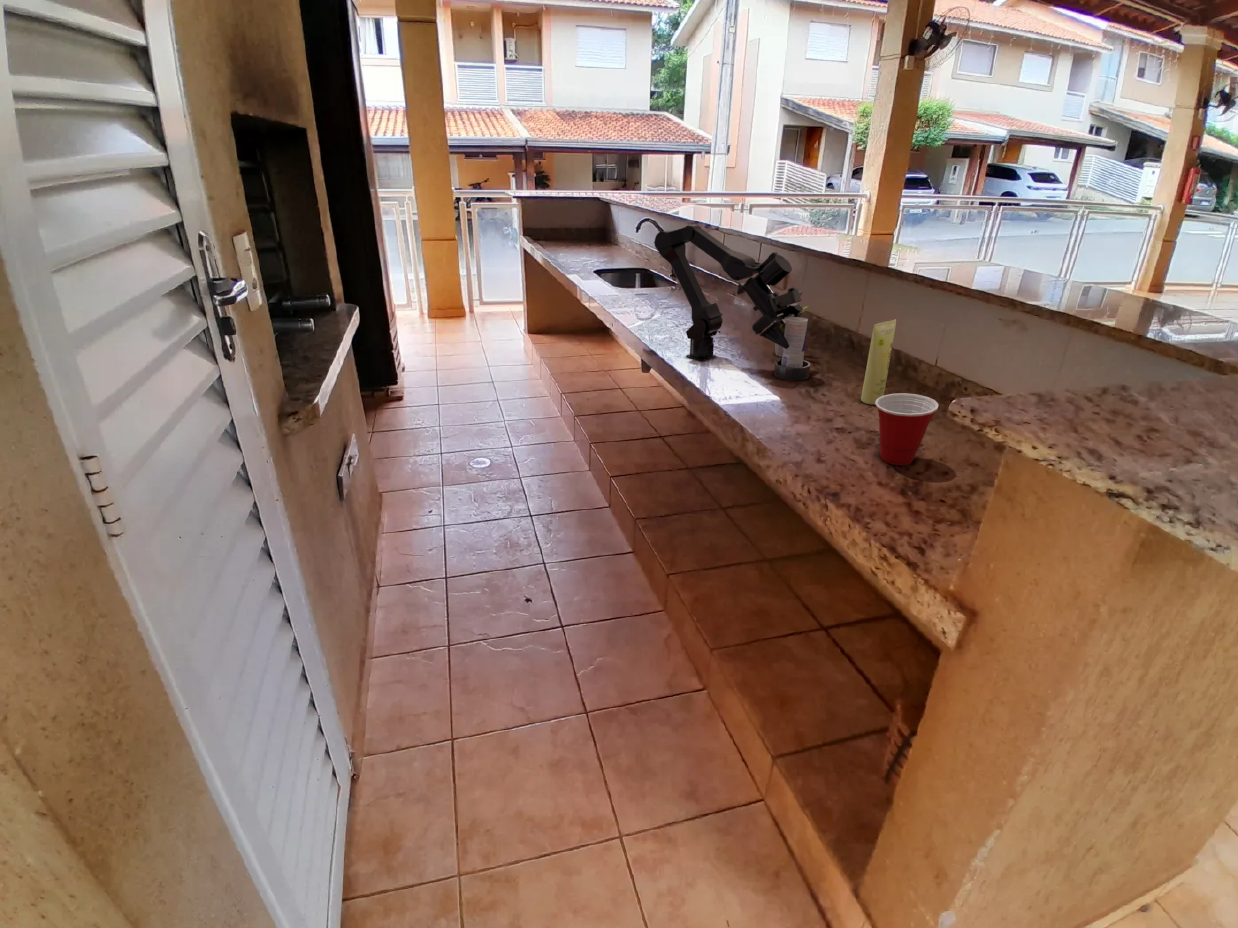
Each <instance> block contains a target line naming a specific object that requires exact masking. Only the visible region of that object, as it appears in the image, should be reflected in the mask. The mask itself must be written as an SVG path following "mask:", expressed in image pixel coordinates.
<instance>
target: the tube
mask: <svg viewBox="0 0 1238 928" xmlns="http://www.w3.org/2000/svg"><path fill="white" fill-rule="evenodd" d="M896 326H897V319H896V318H895V319H892V320H888V321H887V320H886V321H883V322H878V323H875V324H874V325H873V329H872V335H871V340H870V345H869V350H868V356H867V363H866V368H865V373H864V379H863V385H862V391H861V397H860V402H862V403H864V404H867V405H875V402H876V400H877V399H878V398H880V397H882V396H884V395H885V392H886V391H885V390H886V385H887V379H888V374H889V367H890V362H891V356H892V349H893V344H894V339H895V332H896ZM875 406H876V405H875Z"/></svg>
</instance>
